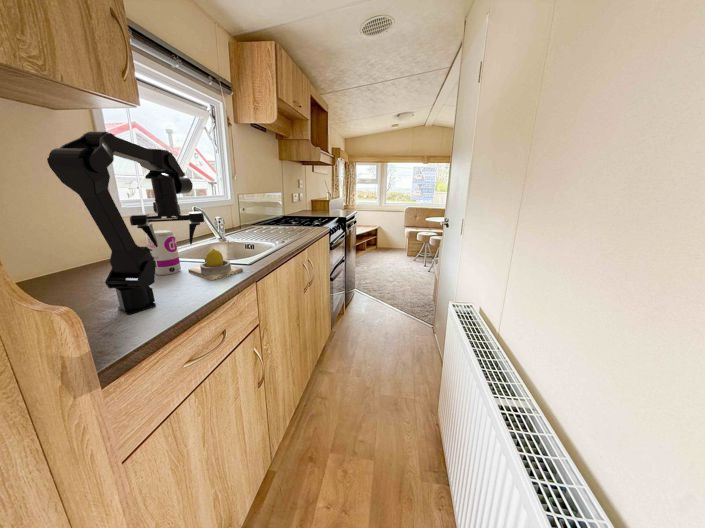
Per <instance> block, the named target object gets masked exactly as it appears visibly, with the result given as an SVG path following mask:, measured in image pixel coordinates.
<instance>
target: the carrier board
mask: <svg viewBox="0 0 705 528" xmlns="http://www.w3.org/2000/svg"><path fill="white" fill-rule="evenodd" d="M241 271H244V269H243V267H240V266H237V265H233V264H231V262H230V261H229V260H225V259H223V265H222V266H219V267H208V265H207V263H206V256H205V257H204V262H203V263H200V266H195V267H192V268H188V273H189V274H192V273H193V274H192V275H195V276H198V277H201V276H202V277H201V278H205V279H207V278H208V279H207V280H210V279H211V280H210V281H215V280H214V279H216V280H218V279H217V278H219V279H221V278H220V277H222V278H225V277H224V276H226V277H228V276H227V275H229V276H231V275H230V274H232V275H235V274H234V273H236V274H239V273H242V272H241ZM238 272H239V273H238Z"/></svg>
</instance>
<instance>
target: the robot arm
mask: <svg viewBox="0 0 705 528" xmlns="http://www.w3.org/2000/svg"><path fill="white" fill-rule="evenodd" d="M114 156H116V157H117V158H118V157H119V158H122V159H125V160H128V161H132V162H137V163H138V164H139V165H140V167H142V168H144V169H146V170H148V171H149V172H148V173H147V174H146V175H145V179H147V180H150V182H151V187H152V191H153V197H154V202H152V204H153V205H152V206H153V207H152V208H153V212H154V213H155V214H157V215H150V213H134V214H131V216H130V217H129V221H130V222H129V223H130V225H131V226H136V228H137V229H141V230H142V231H143V232H144V233H145V234H146V235H147V236H149V238H150V239H151V241H152V242H153V244H154V245H155V246H156V247H158V244H157V240H156V237H155V233H154V231H155V230H154V227H153V223H158V222H159V223H160V222H161V223H162V222H180V221H189V224H188V226H189V227H188V230H189V231H188V233H189V234H188V235H189V245H190V246H191V245H193V240H194V235H195V234H194V233H195V231H196V229H197V226H201V223H204V222H205V216H204V215H205V214H204V213H203V211H189V212H188V214H182V213H181V208H180V205H179V201H178V194H179V195H182V194H188V193H190V192H192V191H193V186H194V185H193V182H192V180H191V179H190V178H189V177H188V176H186V173H185V172H184V170H183V169H182V167H181V166H180V164H179V162H178V160H177V159H176V157H175V156H174V154H173V153H172V152H171V151H170V150H167V149H159V148H158V149H157V148H149V147H147V146H146V147H145V146H144V145H141V144H137V143H135V142H132V141H130V140H128V139H124V138H121V137H119V136H116V135H115V134H113V133H112V132H111V133H110V132H108V131H88V132H85V133H84V134H82V136H80V137H79V138H76V139H74V140H71V141H69V142H67V143H64V144H62V145H61V146H60V147H57V148H54V149H52V150H51V151H50V152H49V154H48V157H47V158H46V161H47V164H48V167H49V168H50V170H52V173H54V175H55V176H56V177H57V178H58V179H59V181H60V182H61V183H62V184H63V185H65V186H66V187H68V188H69V189H70V190H72V191H73V192H75V193H76V194H78V196H79V197H80V198H81V199H80V200H81V201H82V202H83V204H84V206H85V207H86V209H87V211H88V212H89V214H90V216H91V218H92V220H93V221H94V224H96V226H97V228H98V229H99V232H100V233H101V235H102V237H103V238H104V239H105V241H106V244H107V245H108V247H109V249H110V251H111V253H110V258H109V265H110V266H111V269H110V271H109V273H108V275H107V277H106V279H105V281H104V282H105V285H106V287H107V288H108V289H109V290H110V289H115V292H116V296H117V301H118V305H119V306H117V309H118V310H119V311H121V312H122V313H124V314H125V315H127V316H128V315H132V314H135V313H139V312H142V311H144V310H148V309H151V308H153V307H157V304H156V303H155V302H156V301H155V295H154V290H153V288H152V287H151V286H152V285H153V284H155V282H156V281H155V280H156V273H155V263H154V261H153V260H155V259H154V258H153V257H152V255H151V252H150V249H149V246H140V245H138V244H136V242H135V239H133V236H132V234H131V232H130V230H129V228H128V226H127V224H126V221H124V219H123V217H122V215H121V213H120V210H119V209H118V207H117V205H116V203H115V201H114V199H113V197H112V195H111V194H110V192H109V189H108V188H109V184H110V178H111V175H110V172H109V169H108V168H109V166H110V165H112V164H113V162H114V159H115V158H114ZM132 279H133V280H132ZM135 279H136V280H135Z"/></svg>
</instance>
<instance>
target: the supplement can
mask: <svg viewBox="0 0 705 528" xmlns="http://www.w3.org/2000/svg"><path fill="white" fill-rule="evenodd" d="M154 233H155V237H156V240H157V244H158V247H156V246H155V245H154V244H153V242H152V241H151V239H150V238H149V236H148V235H147V236H146V238H147V243H148V248H149V249H150V252H151V255H152V257H153V258H154V259H155V260H153V261H154V263H155V275H158V276H168V275H173V274H177V273H178V272H179V271H181V269H182V268H181V262H180V256H179V250H178V244H177V239H176V234H175V233H174V231H173V230H172V229H158V230H157V229H156V230H154Z"/></svg>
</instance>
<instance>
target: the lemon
mask: <svg viewBox="0 0 705 528" xmlns="http://www.w3.org/2000/svg"><path fill="white" fill-rule="evenodd" d="M205 257H206V263H207V265H208V267H219V266H222V265H223V260H224V257H223V254H222V252H220V250H217V249H215V248H212V249H211V250H209V251H208V252H207V253H206V256H205Z"/></svg>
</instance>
